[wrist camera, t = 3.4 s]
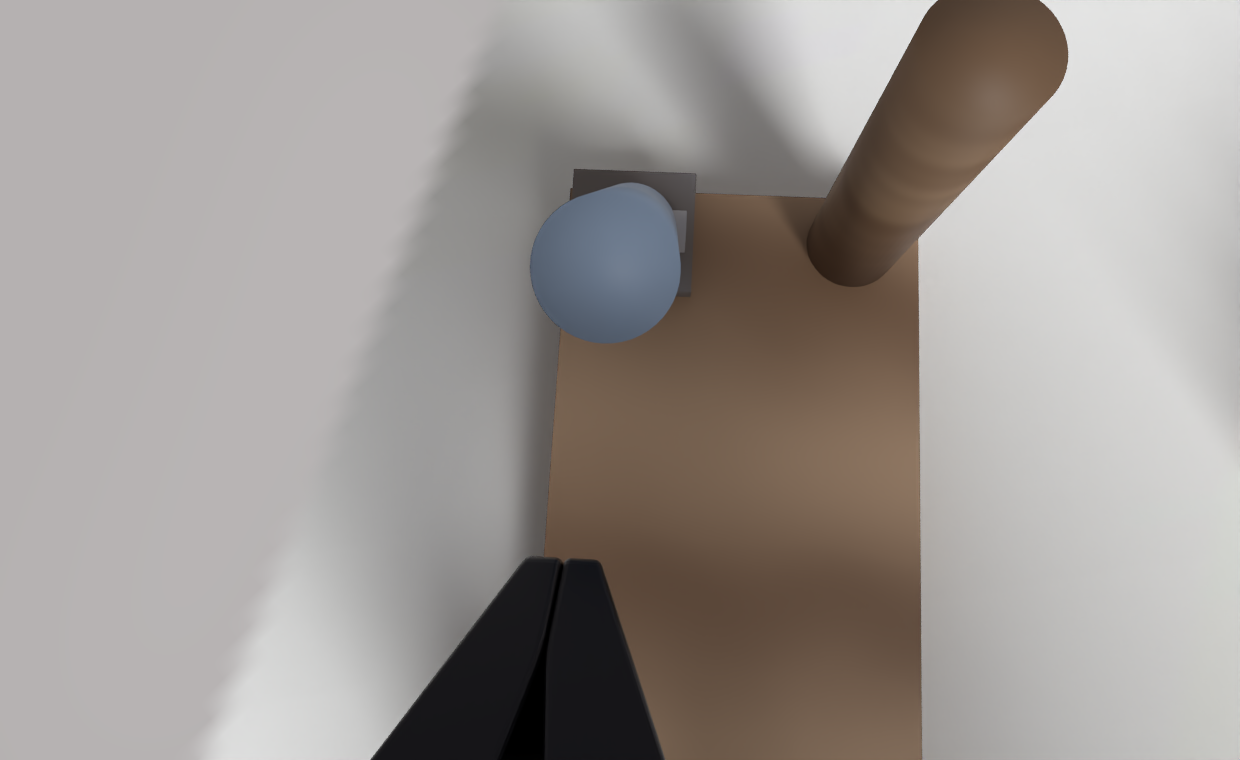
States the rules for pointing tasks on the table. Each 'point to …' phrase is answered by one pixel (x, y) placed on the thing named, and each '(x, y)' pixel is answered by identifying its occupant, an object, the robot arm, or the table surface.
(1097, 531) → the table surface
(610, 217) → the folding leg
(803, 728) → the stool
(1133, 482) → the table surface
